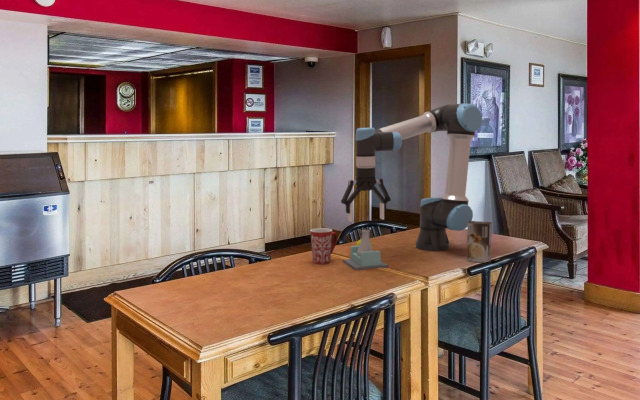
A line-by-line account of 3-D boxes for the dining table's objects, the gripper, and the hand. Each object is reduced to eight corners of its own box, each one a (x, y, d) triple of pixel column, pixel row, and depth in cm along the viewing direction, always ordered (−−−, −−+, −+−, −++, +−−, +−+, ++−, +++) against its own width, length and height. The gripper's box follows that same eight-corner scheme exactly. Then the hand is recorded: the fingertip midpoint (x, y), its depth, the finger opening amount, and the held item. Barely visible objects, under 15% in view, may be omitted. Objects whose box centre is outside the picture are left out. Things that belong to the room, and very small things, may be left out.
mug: (319, 266, 224) (319, 232, 222) (306, 261, 231) (305, 229, 229) (343, 261, 231) (343, 229, 230) (330, 257, 239) (329, 226, 237)
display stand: (375, 259, 234) (375, 244, 233) (388, 267, 221) (388, 251, 220) (343, 261, 230) (343, 246, 229) (354, 270, 217) (354, 253, 216)
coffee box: (491, 260, 232) (492, 221, 230) (489, 263, 226) (490, 224, 224) (469, 257, 236) (470, 220, 234) (466, 261, 230) (467, 222, 228)
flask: (353, 253, 227) (353, 229, 226) (368, 252, 230) (369, 228, 229) (362, 257, 220) (362, 232, 219) (377, 255, 223) (378, 231, 222)
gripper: (391, 165, 228) (391, 216, 230) (332, 167, 221) (333, 220, 224) (398, 166, 220) (398, 219, 223) (338, 169, 214) (339, 223, 216)
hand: (366, 220), depth 223 cm, fingers open, 13 cm apart
